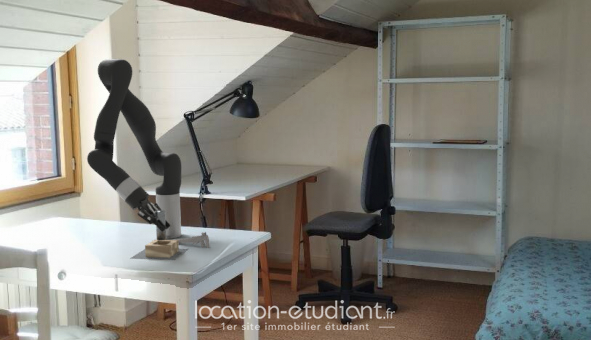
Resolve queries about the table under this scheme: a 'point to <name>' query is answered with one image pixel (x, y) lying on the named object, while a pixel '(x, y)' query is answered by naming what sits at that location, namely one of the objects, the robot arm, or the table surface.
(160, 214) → the ball
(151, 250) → the wooden square frame
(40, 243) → the table surface
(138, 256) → the mat
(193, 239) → the caliper
